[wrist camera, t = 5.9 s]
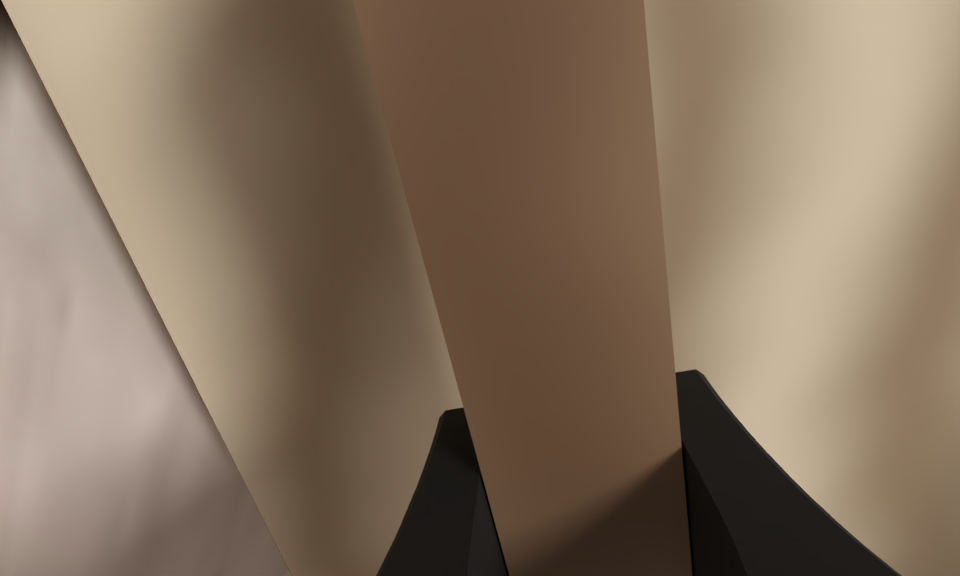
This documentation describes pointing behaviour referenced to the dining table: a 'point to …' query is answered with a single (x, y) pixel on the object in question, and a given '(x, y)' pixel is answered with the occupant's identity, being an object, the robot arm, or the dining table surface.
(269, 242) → the board
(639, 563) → the brown wooden bar
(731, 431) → the robot arm
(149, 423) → the dining table surface
